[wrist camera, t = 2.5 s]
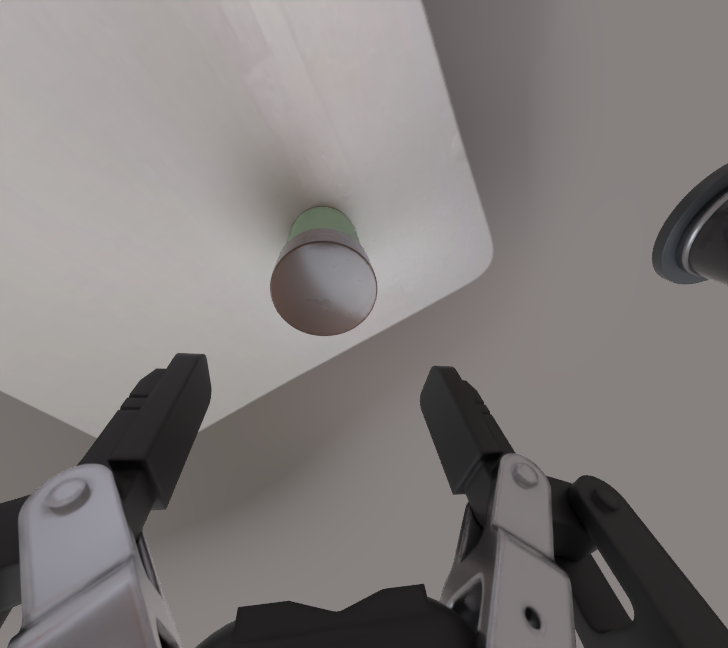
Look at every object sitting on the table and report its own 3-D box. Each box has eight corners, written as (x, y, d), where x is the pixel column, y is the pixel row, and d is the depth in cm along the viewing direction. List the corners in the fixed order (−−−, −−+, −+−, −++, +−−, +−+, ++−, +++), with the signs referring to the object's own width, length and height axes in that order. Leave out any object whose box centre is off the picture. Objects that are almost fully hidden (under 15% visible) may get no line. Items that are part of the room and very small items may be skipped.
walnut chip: (379, 235, 17) (387, 249, 15) (362, 318, 20) (367, 339, 18) (276, 220, 16) (269, 233, 14) (275, 311, 19) (270, 333, 17)
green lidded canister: (362, 212, 23) (375, 238, 17) (351, 275, 26) (360, 316, 20) (291, 201, 22) (280, 224, 16) (289, 268, 25) (279, 309, 19)
